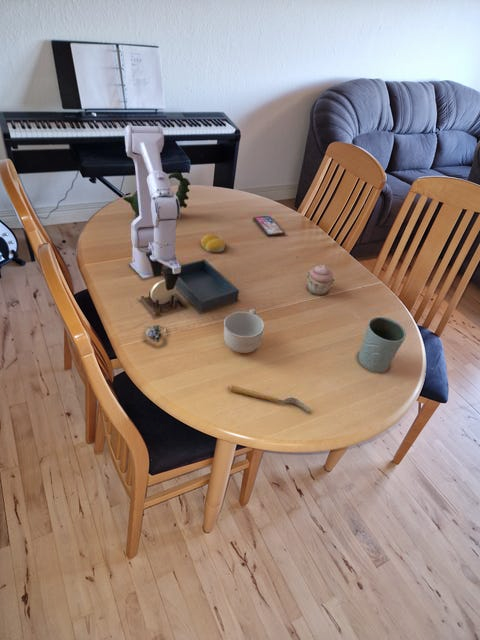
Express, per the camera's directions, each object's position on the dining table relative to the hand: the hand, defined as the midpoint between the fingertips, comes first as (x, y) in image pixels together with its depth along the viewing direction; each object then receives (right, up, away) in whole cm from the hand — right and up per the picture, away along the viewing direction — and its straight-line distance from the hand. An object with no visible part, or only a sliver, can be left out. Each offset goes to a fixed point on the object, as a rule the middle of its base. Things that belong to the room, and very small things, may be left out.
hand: (163, 282), depth 125 cm
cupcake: (+48, -1, +22) cm, 53 cm away
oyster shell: (-1, -16, -6) cm, 17 cm away
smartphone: (+33, +27, +53) cm, 68 cm away
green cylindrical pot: (+59, -23, -2) cm, 63 cm away
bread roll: (+12, +16, +35) cm, 40 cm away
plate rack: (-1, -6, +5) cm, 8 cm away
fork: (+29, -31, -18) cm, 46 cm away
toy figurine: (-11, +29, +47) cm, 56 cm away
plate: (-1, -6, +5) cm, 8 cm away
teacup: (+23, -17, -3) cm, 29 cm away
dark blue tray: (+10, -1, +13) cm, 17 cm away
